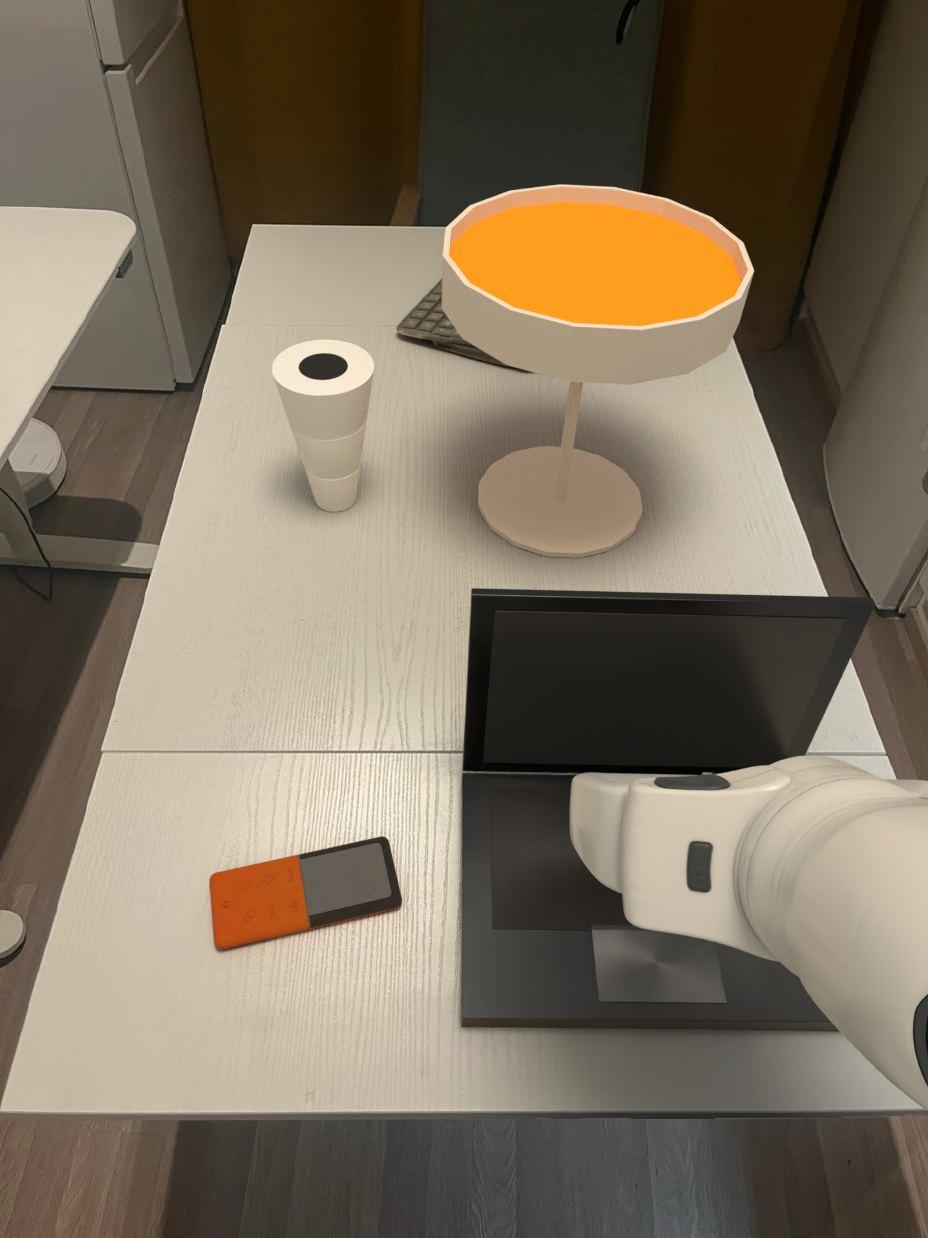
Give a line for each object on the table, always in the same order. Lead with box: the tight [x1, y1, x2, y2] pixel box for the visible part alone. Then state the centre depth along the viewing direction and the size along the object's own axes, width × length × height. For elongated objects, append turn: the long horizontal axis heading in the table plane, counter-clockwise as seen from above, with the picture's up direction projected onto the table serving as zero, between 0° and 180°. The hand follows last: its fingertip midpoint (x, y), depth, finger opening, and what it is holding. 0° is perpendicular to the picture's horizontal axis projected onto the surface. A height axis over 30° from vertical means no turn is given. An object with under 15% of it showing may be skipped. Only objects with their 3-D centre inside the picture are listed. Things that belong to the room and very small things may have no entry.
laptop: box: [395, 278, 517, 369], centre depth 134 cm, size 26×32×10 cm
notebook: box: [460, 772, 840, 1032], centre depth 74 cm, size 21×30×2 cm
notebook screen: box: [461, 587, 877, 775], centre depth 73 cm, size 21×30×1 cm
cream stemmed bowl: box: [441, 183, 755, 559], centre depth 96 cm, size 30×30×31 cm
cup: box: [271, 339, 375, 513], centre depth 100 cm, size 11×11×18 cm
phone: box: [208, 835, 403, 950], centre depth 73 cm, size 6×1×15 cm
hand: (724, 786), depth 53 cm, fingers closed
